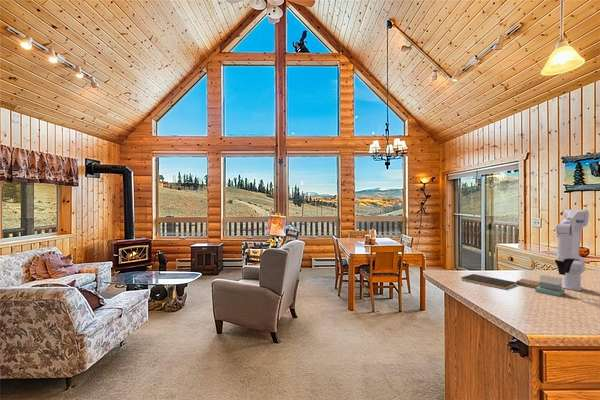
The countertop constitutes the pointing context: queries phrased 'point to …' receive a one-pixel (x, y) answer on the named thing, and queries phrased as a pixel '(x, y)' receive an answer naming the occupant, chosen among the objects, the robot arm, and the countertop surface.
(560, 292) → the stand
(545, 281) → the block
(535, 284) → the stand
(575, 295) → the countertop surface
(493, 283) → the hardcover book
